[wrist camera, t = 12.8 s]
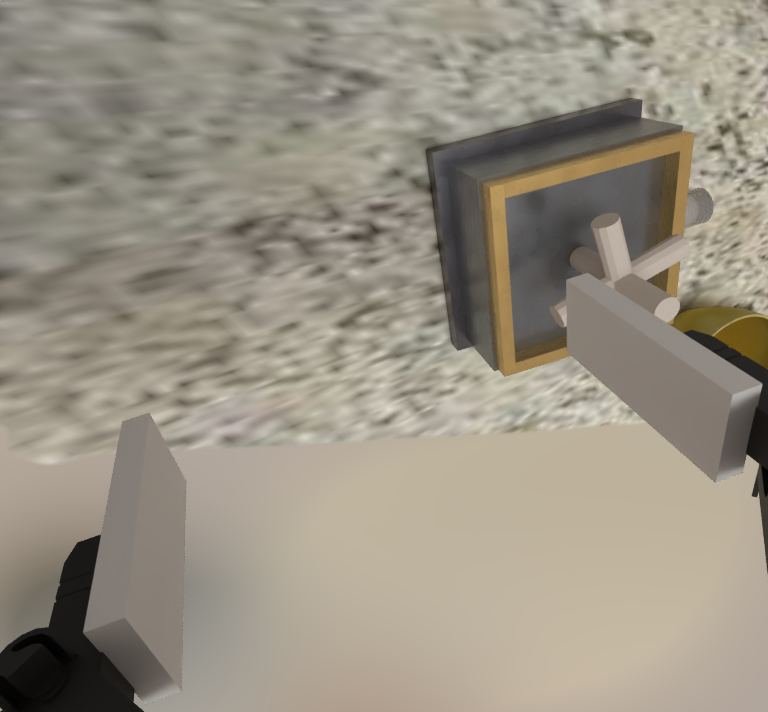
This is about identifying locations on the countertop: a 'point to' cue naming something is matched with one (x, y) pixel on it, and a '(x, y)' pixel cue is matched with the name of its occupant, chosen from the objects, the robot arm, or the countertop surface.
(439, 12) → the countertop surface
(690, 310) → the flower pot
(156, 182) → the countertop surface
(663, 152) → the grey gold-rimmed box
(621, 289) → the pipe connector
